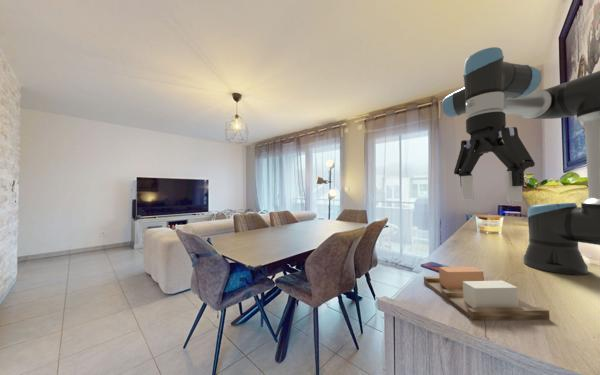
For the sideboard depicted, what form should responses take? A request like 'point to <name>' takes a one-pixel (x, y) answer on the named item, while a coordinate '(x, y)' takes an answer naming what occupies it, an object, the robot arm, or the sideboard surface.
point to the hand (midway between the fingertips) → (488, 200)
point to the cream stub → (490, 294)
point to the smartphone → (433, 266)
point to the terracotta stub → (458, 276)
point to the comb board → (479, 314)
